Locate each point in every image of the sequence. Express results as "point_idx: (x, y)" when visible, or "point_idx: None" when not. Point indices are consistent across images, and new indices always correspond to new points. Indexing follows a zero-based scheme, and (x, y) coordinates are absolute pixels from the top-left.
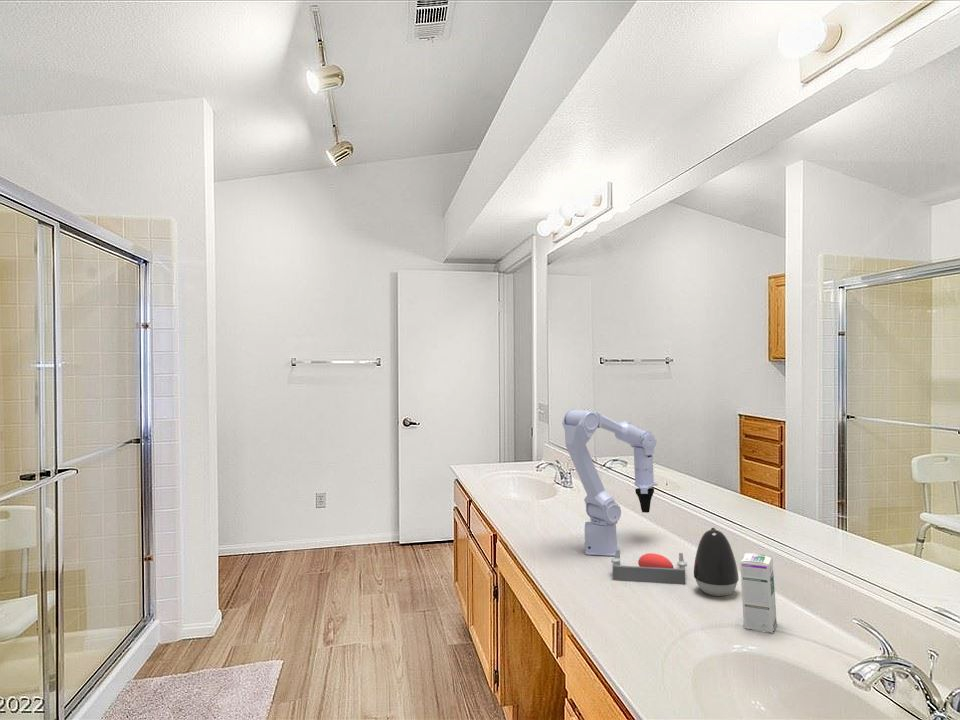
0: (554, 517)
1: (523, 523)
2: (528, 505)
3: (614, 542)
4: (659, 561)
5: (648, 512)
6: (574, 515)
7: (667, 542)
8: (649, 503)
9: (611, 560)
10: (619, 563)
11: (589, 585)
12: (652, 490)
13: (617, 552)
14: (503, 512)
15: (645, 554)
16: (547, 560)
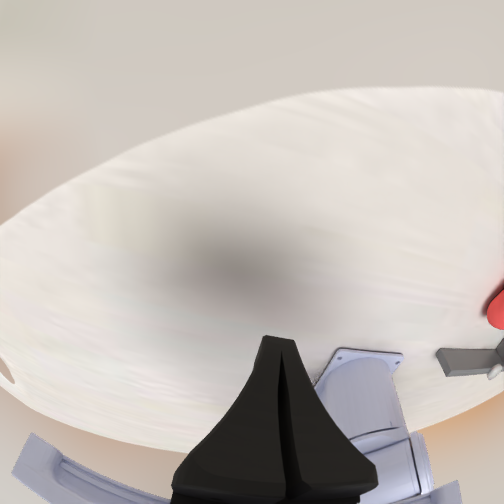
0: (78, 389)
1: (134, 431)
2: (38, 389)
3: (392, 383)
4: None
5: (295, 343)
6: (50, 357)
7: (291, 170)
8: (313, 394)
9: (492, 377)
10: (459, 353)
11: None
12: (280, 488)
13: (459, 373)
14: (86, 425)
15: None
16: None
